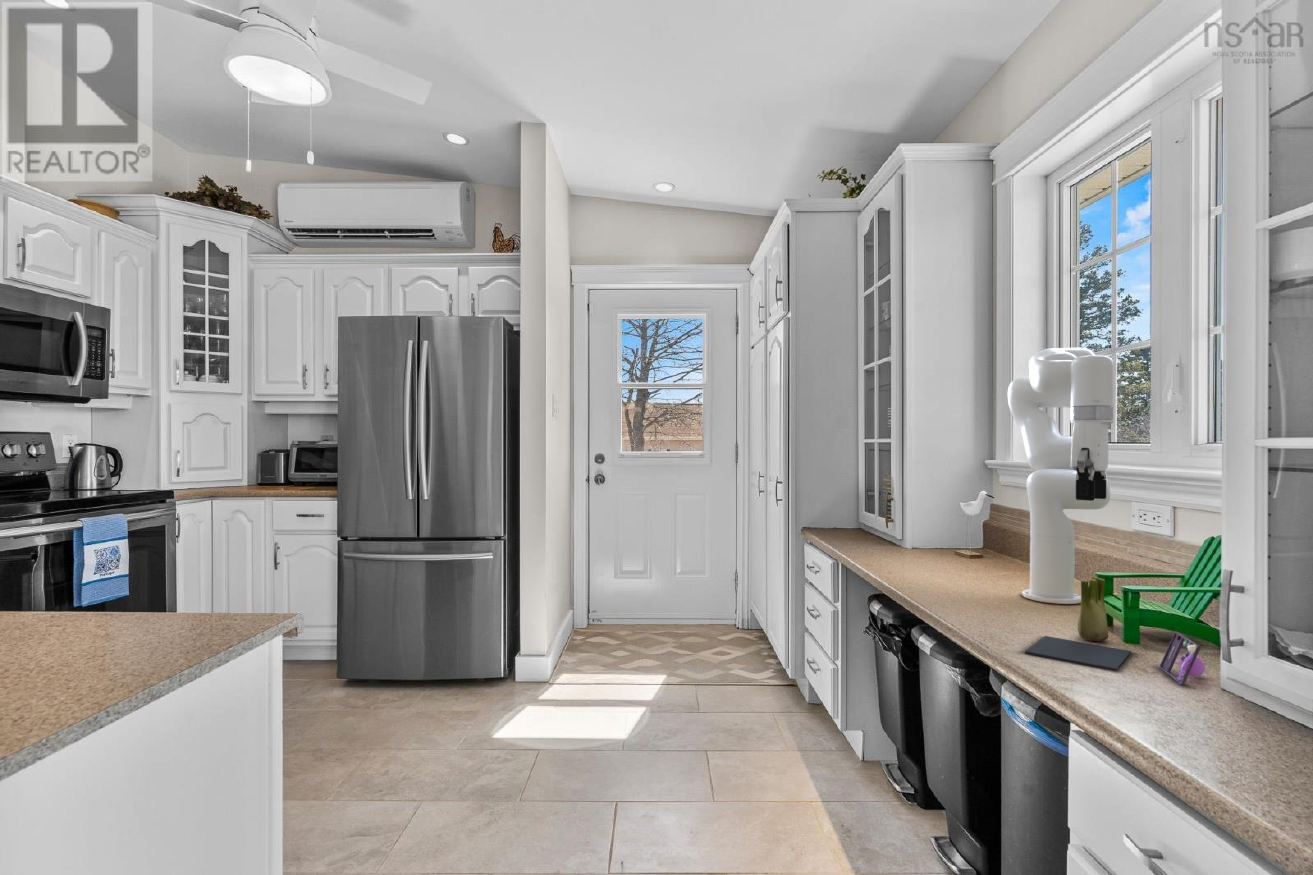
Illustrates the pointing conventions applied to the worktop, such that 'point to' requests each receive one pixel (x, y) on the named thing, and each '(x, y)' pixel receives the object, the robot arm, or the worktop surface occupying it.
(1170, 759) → the worktop surface
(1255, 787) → the worktop surface
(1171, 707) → the worktop surface
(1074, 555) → the robot arm
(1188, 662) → the purple toy package
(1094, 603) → the fennel bulb
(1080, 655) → the mat
